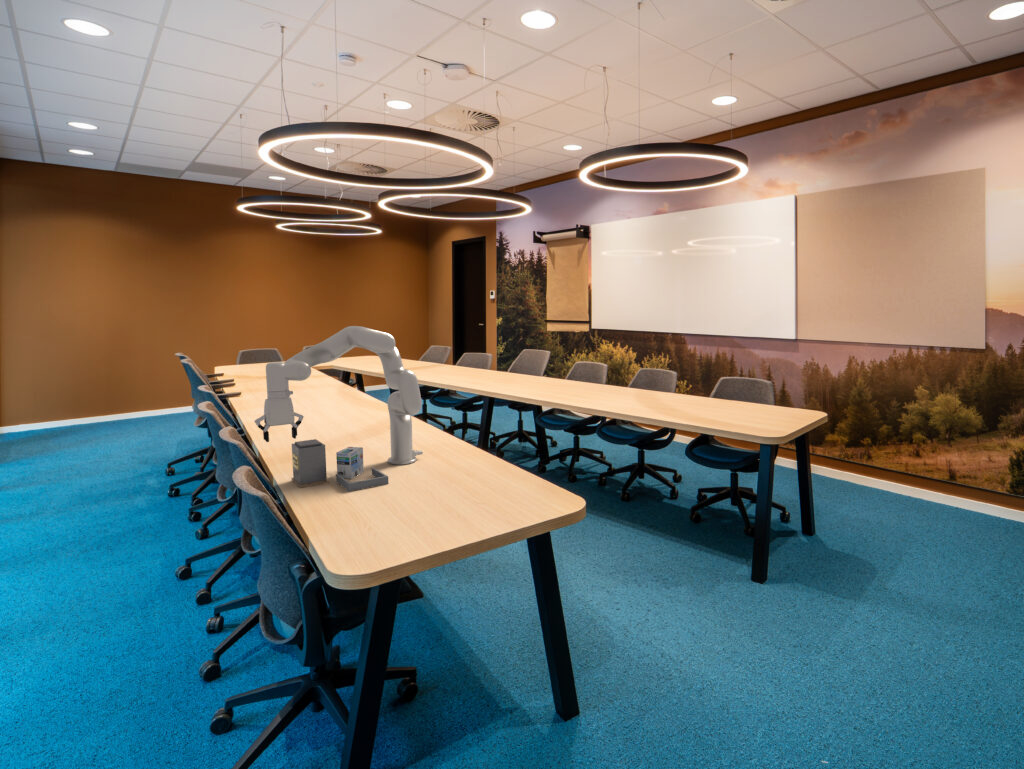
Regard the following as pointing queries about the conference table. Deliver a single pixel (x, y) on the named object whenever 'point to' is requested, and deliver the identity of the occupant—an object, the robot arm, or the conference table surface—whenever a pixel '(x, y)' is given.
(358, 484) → the bay
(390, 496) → the conference table surface
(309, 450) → the block
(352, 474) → the light bulb box
